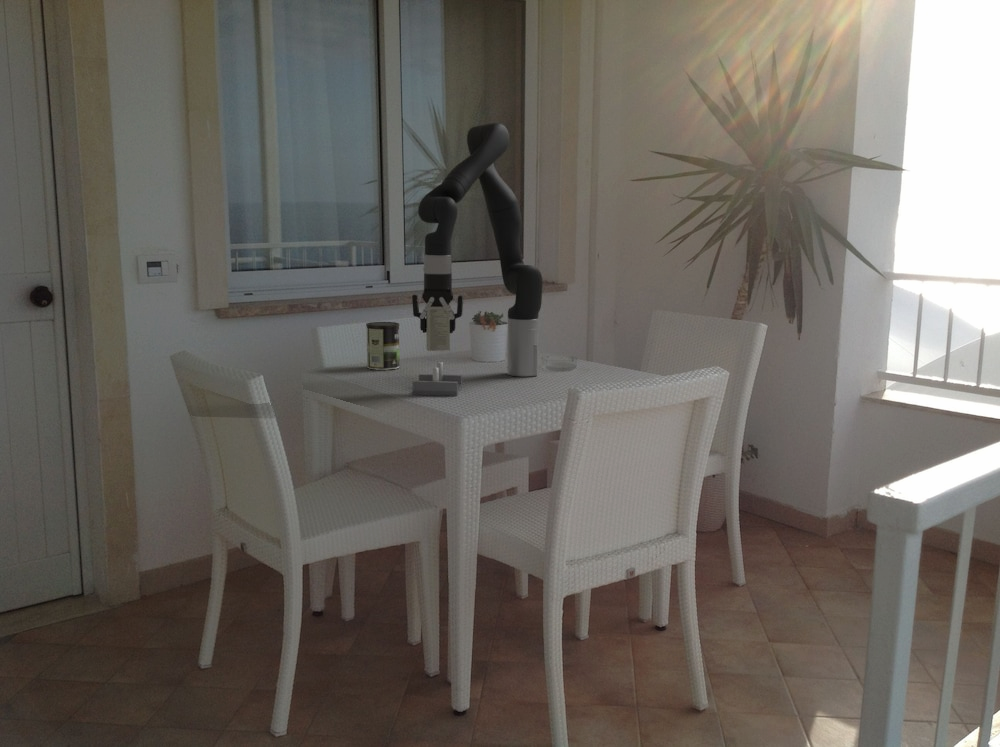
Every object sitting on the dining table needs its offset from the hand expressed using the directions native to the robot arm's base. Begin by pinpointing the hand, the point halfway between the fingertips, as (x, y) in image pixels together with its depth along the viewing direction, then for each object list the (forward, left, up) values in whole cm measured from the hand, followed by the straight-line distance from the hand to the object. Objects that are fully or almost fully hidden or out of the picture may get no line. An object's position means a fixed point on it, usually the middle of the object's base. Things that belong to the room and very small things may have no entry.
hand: (437, 332), depth 258 cm
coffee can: (+22, -35, -16) cm, 44 cm away
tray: (0, 0, -16) cm, 16 cm away
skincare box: (0, 0, -5) cm, 5 cm away
